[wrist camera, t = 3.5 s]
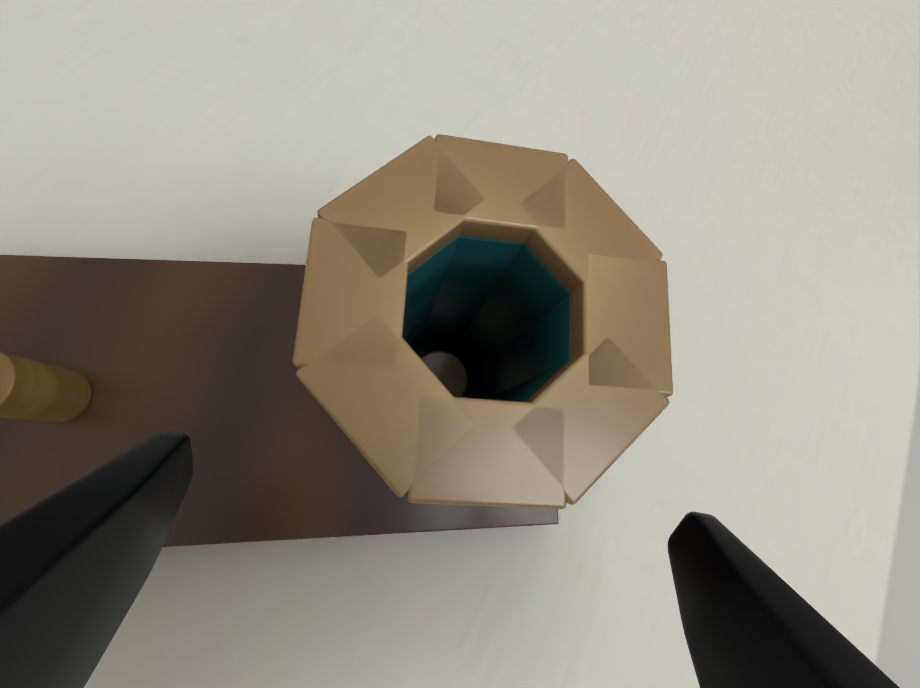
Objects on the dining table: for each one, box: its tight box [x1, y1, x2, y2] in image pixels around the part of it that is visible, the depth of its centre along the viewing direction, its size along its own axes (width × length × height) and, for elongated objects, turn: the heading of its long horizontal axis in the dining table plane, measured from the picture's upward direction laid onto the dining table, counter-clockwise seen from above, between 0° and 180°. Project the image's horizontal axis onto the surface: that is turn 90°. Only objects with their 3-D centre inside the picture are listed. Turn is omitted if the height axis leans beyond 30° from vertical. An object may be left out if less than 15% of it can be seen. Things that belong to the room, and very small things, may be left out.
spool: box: [292, 134, 673, 509], centre depth 12 cm, size 6×6×11 cm
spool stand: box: [0, 255, 558, 547], centre depth 16 cm, size 22×10×5 cm, turn 92°
